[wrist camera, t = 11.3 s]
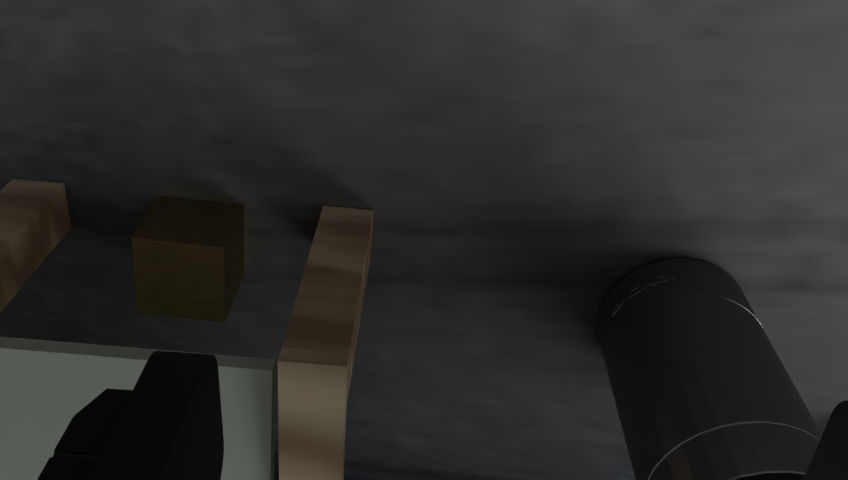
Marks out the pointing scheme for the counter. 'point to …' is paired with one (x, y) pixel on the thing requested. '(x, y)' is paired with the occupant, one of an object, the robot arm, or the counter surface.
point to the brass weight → (188, 258)
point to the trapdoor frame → (305, 337)
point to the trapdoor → (120, 369)
